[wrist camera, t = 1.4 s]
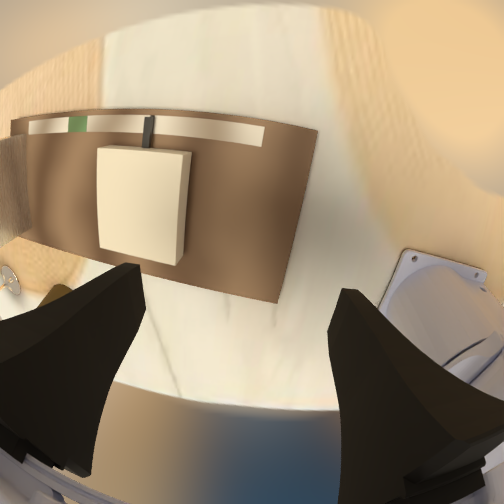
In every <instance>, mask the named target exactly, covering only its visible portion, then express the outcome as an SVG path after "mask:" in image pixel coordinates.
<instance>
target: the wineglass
mask: <svg viewBox="0 0 504 504" xmlns="http://www.w3.org/2000/svg"><path fill="white" fill-rule="evenodd" d="M2 276H3V279H4V283H3V285H2V286H1V287H0V291H1V290H2V289H4V288H5V287H8V288H9V290H10V291H11V292H12V293H14V294H15V295H19V294H20V291H21V290H20V284H19V282H18V279H17V277H16V276H15V274H14V272H13V271H12V270H11V269H10V268H9V267H8V266H6V265H4V266H3V267H2Z"/></svg>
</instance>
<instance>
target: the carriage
mask: <svg viewBox="0 0 504 504" xmlns="http://www.w3.org/2000/svg"><path fill="white" fill-rule="evenodd" d="M153 121H154V117H145V118H144V127H143V137H142V147H133V146H117V145H109V146H104V147H100V148H97V213H98V230H99V243H100V248H104V249H108V250H112V251H116V252H120V253H124V254H128V255H132V256H136V257H140V258H144V259H148V260H152V261H157V262H161V263H165V264H169V265H174V266H176V264H177V263H178V262H179V260H180V259H181V258H182V256H183V249H184V233H185V218H186V206H187V194H188V184H189V174H190V164H191V156H192V152H187V151H178V150H168V149H158V148H151V139H152V129H153Z"/></svg>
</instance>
